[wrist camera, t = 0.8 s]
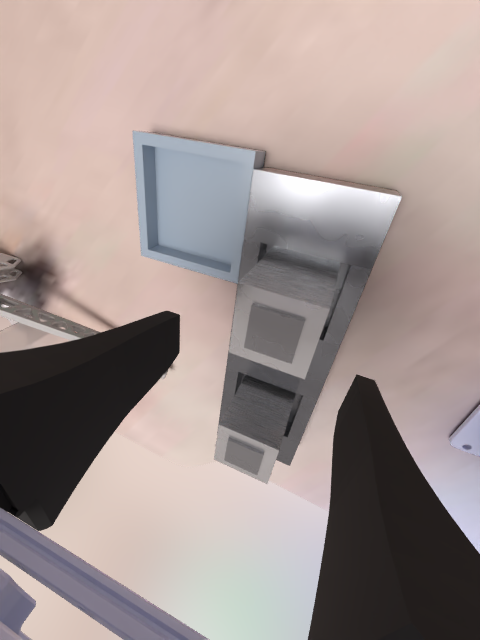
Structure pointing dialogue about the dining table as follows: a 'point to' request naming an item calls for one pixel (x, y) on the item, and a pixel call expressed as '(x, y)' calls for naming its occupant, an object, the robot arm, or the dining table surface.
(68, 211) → the dining table surface
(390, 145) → the dining table surface
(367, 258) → the slotted metal plate
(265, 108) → the dining table surface
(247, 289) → the light grey rectangular block
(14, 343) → the jar
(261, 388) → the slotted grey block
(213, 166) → the tray
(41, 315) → the bracket
